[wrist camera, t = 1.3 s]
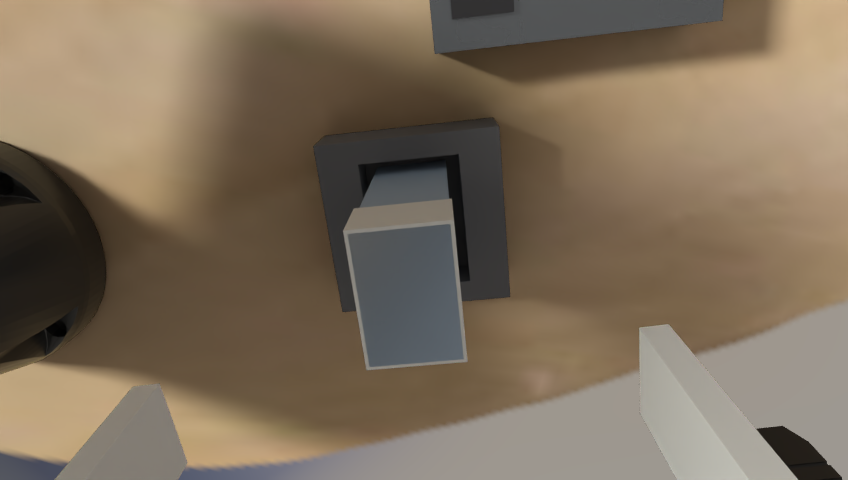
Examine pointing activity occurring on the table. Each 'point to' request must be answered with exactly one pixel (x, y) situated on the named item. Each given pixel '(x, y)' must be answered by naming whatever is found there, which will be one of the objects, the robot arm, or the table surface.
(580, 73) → the table surface
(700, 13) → the port panel
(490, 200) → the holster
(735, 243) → the table surface
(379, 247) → the plug
